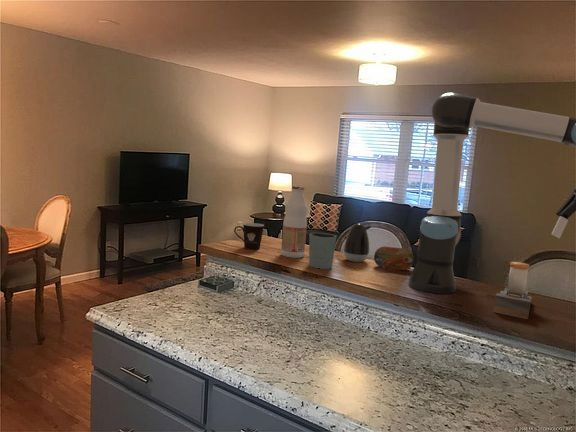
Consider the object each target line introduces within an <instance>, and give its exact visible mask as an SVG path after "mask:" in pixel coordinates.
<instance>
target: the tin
mask: <svg viewBox="0 0 576 432" xmlns="http://www.w3.org/2000/svg"><path fill="white" fill-rule="evenodd" d="M373 260H374V262H375V264H376V265H377V266H378V267H379V268H382V269H387V270H388V269H390V270H398V271H407V270H409V269H410V268H411V267H413V265H414V262H415V255H414V254H413V252H412V251H411V250H409V249H408V248H405V247H404V248H403V247H394V246H386V245H385V246H381V247H378V248H377V249H376V250H375V252H374V255H373Z"/></svg>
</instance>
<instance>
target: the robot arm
mask: <svg viewBox="0 0 576 432" xmlns="http://www.w3.org/2000/svg"><path fill="white" fill-rule="evenodd" d="M431 117H432V119H433V120H434V123H433V137H434V138H435V139H436V140H437V142H436V143H437V144H436V156H435V169H434V178H433V179H434V180H433V191H432V193H433V194H432V202H431V203H432V205H431V208H430V209H429V210H428V211H427V213H426V217H423V218H422V220H421V223H420V226H419V238H418V246H417V253H416V254H417V255H416V263H415V264H414V267H413V269H412V271H411V274H410V276H409V277H408V285H409V286H410V287H411V288H413V289H416V290H419V291H421V292H422V291H423V292H427V293H431V294H443V295H445V294H453V293H455V292H456V288H457V287H456V286H457V283H456V281H455V274H454V268H453V267H454V259H455V252H456V246H457V245H458V244H459V242H460V240H461V237H462V229H461V226H462V225H461V223H462V213H461V212H460V211H459V210H458V206H459V205H458V204H459V193H460V182H461V181H460V180H461V171H462V161H463V160H462V159H463V151H464V150H463V148H464V141H465V140H466V139H467V138H468V137H469V134H470V133H469V131H470V129H472V128H473V127H477V128H483V129H489V130H494V131H500V132H503V133H509V134H513V135H514V134H515V135H521V136H526V137H532V138H536V139H542V140H549V141H551V142H552V141H553V142H558V143H560V144H562V145H564V146H567V147H571V148H573V149H576V117H571V116H565V115H559V114H554V113H547V112H542V111H535V110H530V109H525V108H524V109H523V108H518V107H513V106H507V105H500V104H493V103H489V102H483V101H481V100H480V99H479V97H474V96H468V95H465V94H461V93H457V92H446V93H443V94H441V95H440V96H438V97H437V98H436V99H435V101H434V102H433V105H432V108H431ZM570 194H571V195H569V197H568V198H567V199H566V200H565V201H564V203H563V204H562V205H561V206H560V207H559V208H558V210H557V211H556V214H555V215H556V216H557V217H558V219H557V221H556V223H555V225H554V228H553V229H552V232H551V234H550V235H551V236H553V237H555V238H557V239H560V238H561V237H562V235H563V232H564V231H565V228H566V226H567V224H568V222H569V221H570V220H569V218H570V217H571V216H572V215H574V214H575V212H576V188H575V189H574V190H573V191H572V193H570Z"/></svg>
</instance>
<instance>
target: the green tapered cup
mask: <svg viewBox="0 0 576 432" xmlns="http://www.w3.org/2000/svg"><path fill="white" fill-rule="evenodd" d="M308 236H309V243H308V244H309V246H308V247H309V250H308V251H309V252H308V253H309V254H308V255H309V256H308V266H309V267H310V268H312V267H314V268H313V269H316V268H320V269H319V270H331V269H332V268H333V262H334V258H335V257H334V254H335V249H336V244H337V243H336V242H337V235H335V234H333V233H327V232H311V233H309V235H308ZM330 268H331V269H330Z"/></svg>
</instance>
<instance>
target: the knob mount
mask: <svg viewBox="0 0 576 432" xmlns="http://www.w3.org/2000/svg"><path fill="white" fill-rule="evenodd" d="M528 292H529V291H526V290H525V293H524V294H522V298H519V297H520V296H517V295H512V294H508V293H509V291H508V290H507V287H504V290H500V292H499V293H498V292H497V293H496V294H495V299H494V306H493V313H496V314H501V315H505V316H510V317H515V318H518V319H519V318H520V319H525V320H529V313H530V309H531V303H532V296H528V295H529V293H528Z"/></svg>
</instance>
